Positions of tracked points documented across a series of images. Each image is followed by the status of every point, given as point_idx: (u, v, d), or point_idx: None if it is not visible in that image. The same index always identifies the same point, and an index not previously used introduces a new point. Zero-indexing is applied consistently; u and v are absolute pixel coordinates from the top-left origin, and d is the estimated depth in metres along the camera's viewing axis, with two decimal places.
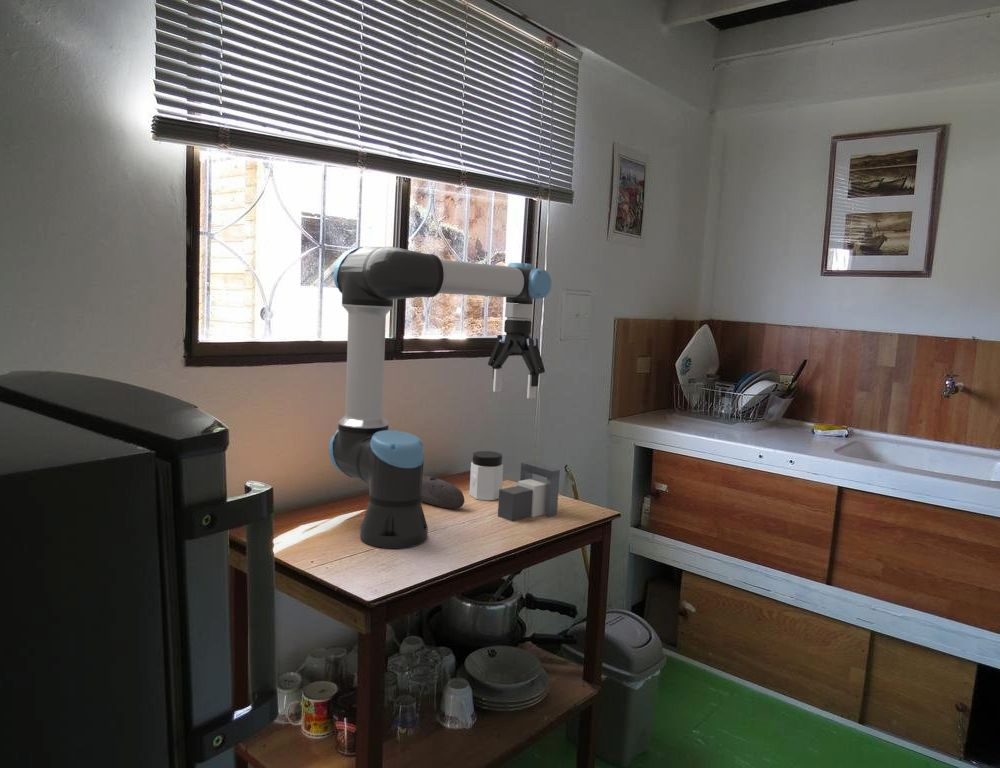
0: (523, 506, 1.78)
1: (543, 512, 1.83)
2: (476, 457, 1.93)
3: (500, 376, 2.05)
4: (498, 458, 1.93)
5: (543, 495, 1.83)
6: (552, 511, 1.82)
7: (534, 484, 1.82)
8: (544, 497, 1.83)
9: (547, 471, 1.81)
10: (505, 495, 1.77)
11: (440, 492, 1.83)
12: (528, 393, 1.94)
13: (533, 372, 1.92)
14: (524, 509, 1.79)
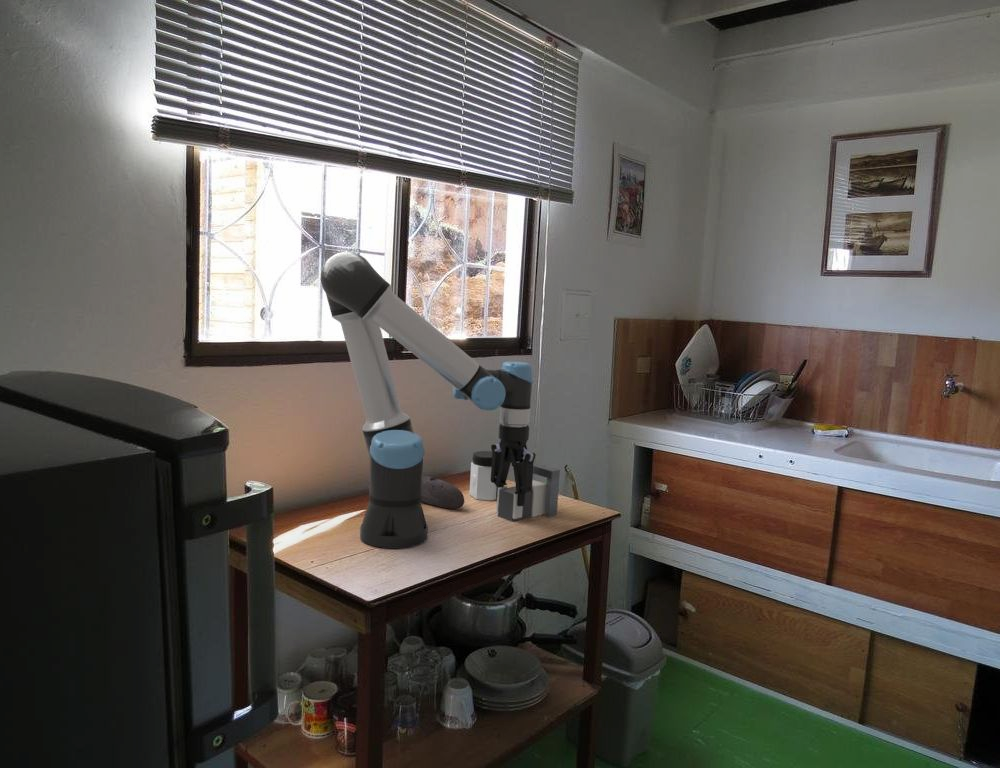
0: (523, 506, 1.78)
1: (543, 512, 1.83)
2: (476, 457, 1.93)
3: None
4: None
5: (543, 495, 1.83)
6: (552, 511, 1.82)
7: (534, 484, 1.82)
8: (544, 497, 1.83)
9: (547, 471, 1.81)
10: (505, 495, 1.77)
11: (440, 492, 1.83)
12: (514, 513, 1.76)
13: (519, 492, 1.74)
14: (524, 509, 1.79)
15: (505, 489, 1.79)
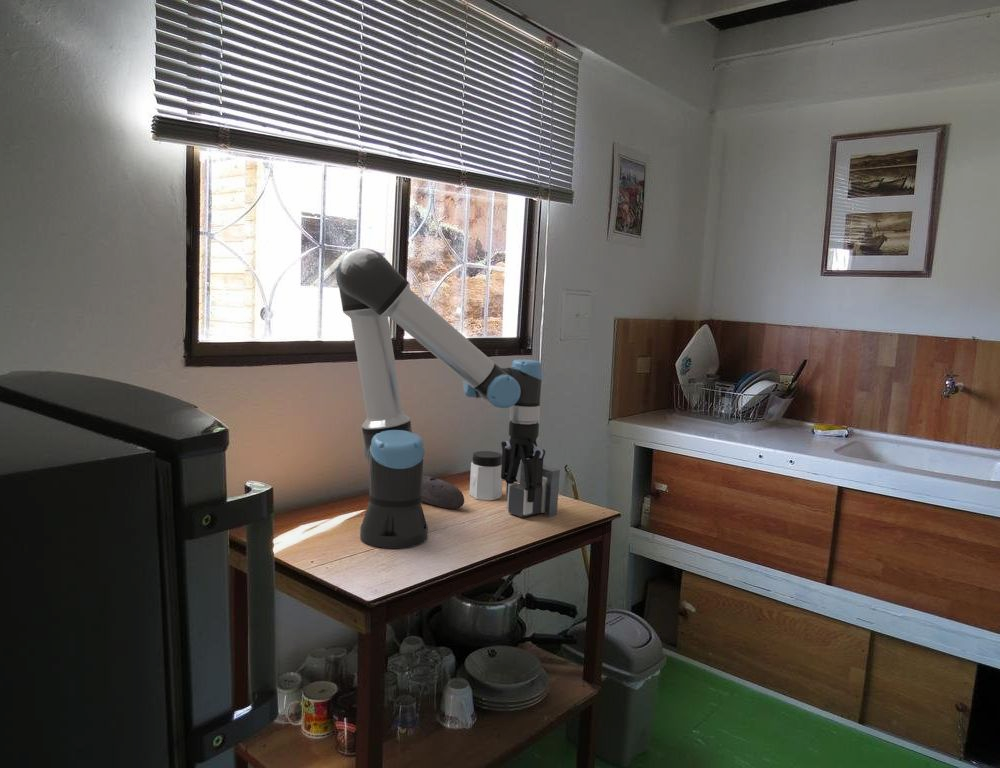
0: (533, 502, 1.81)
1: None
2: (476, 457, 1.93)
3: None
4: (498, 458, 1.93)
5: None
6: (552, 511, 1.82)
7: (544, 480, 1.84)
8: None
9: (547, 471, 1.81)
10: (515, 491, 1.79)
11: (440, 492, 1.83)
12: (524, 509, 1.78)
13: (529, 488, 1.76)
14: (534, 505, 1.81)
15: (515, 485, 1.81)
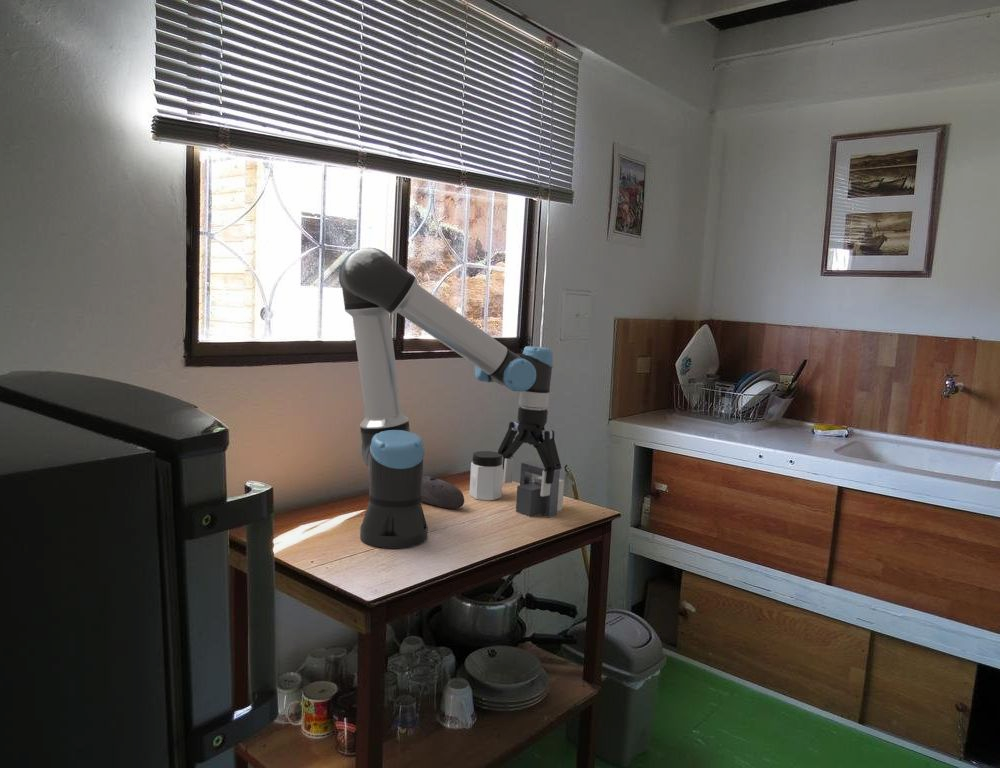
0: (540, 502, 1.83)
1: (560, 508, 1.88)
2: (476, 457, 1.93)
3: (511, 466, 1.87)
4: (498, 458, 1.93)
5: (560, 491, 1.87)
6: (552, 511, 1.82)
7: None
8: (561, 493, 1.87)
9: None
10: (523, 491, 1.82)
11: (440, 492, 1.83)
12: (542, 491, 1.76)
13: (548, 468, 1.75)
14: (541, 505, 1.83)
15: (523, 485, 1.84)
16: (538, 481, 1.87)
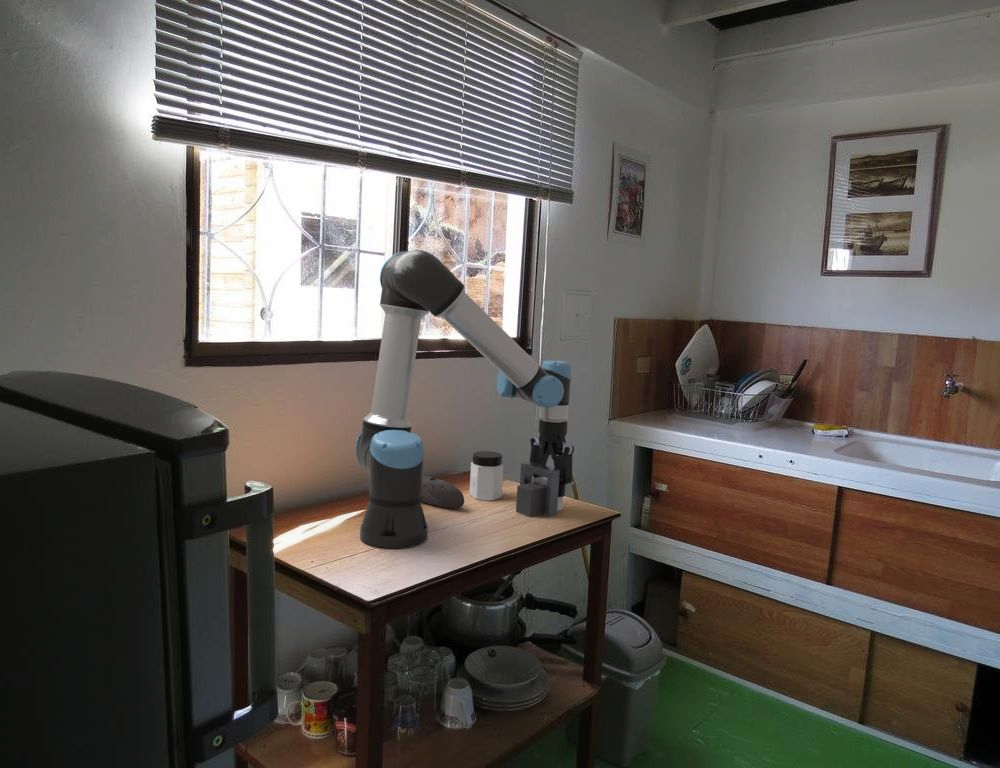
0: (540, 502, 1.83)
1: (560, 508, 1.88)
2: (476, 457, 1.93)
3: None
4: (498, 458, 1.93)
5: None
6: (552, 511, 1.82)
7: None
8: None
9: (547, 471, 1.81)
10: (523, 491, 1.82)
11: (440, 492, 1.83)
12: None
13: (560, 483, 1.84)
14: (542, 505, 1.83)
15: (523, 485, 1.84)
16: (538, 481, 1.87)
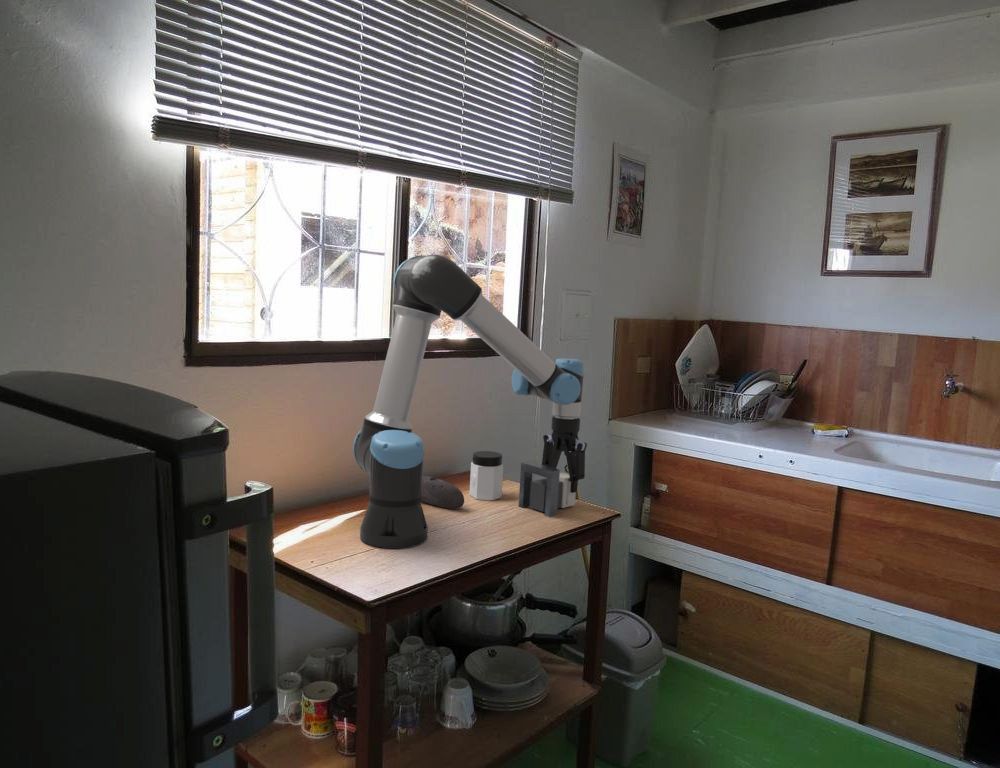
0: None
1: None
2: (476, 457, 1.93)
3: None
4: (498, 458, 1.93)
5: None
6: (552, 511, 1.82)
7: (564, 476, 1.89)
8: None
9: (547, 471, 1.81)
10: (537, 486, 1.85)
11: (440, 492, 1.83)
12: (567, 499, 1.89)
13: (572, 479, 1.87)
14: None
15: (536, 481, 1.87)
16: None
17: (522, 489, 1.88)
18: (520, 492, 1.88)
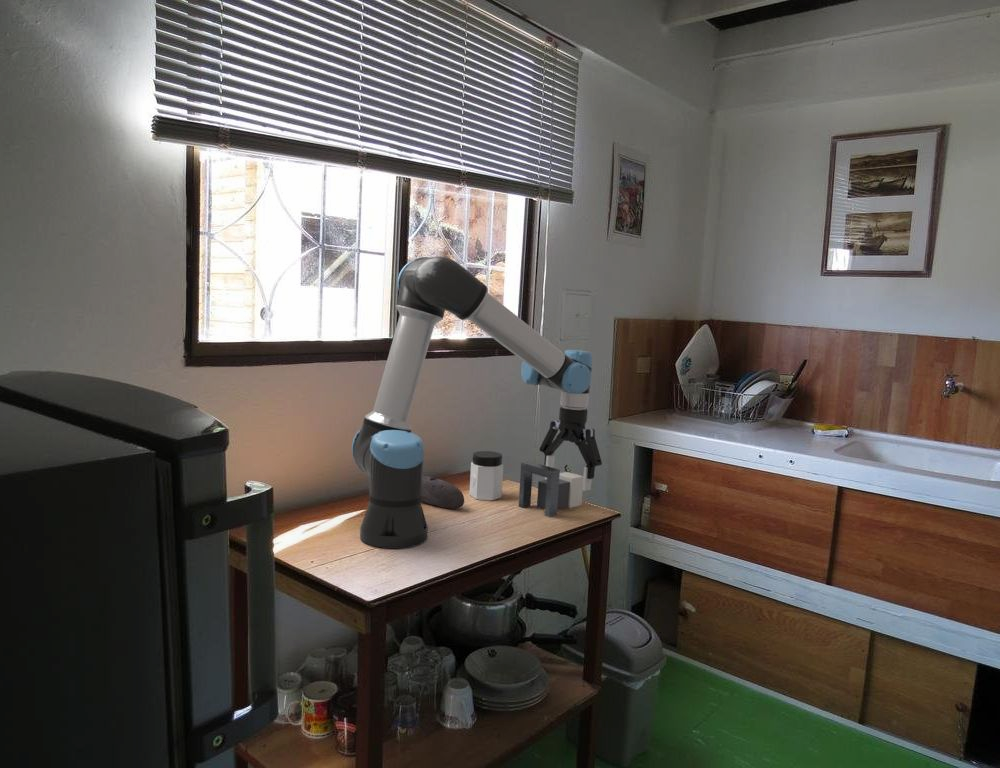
0: (561, 497, 1.88)
1: (579, 503, 1.93)
2: (476, 457, 1.93)
3: (552, 463, 1.98)
4: (498, 458, 1.93)
5: (579, 487, 1.92)
6: (552, 511, 1.82)
7: (571, 476, 1.92)
8: (580, 489, 1.93)
9: (547, 471, 1.81)
10: (544, 486, 1.87)
11: (440, 492, 1.83)
12: (584, 485, 1.88)
13: (590, 464, 1.86)
14: (562, 500, 1.89)
15: (544, 481, 1.89)
16: None
17: (522, 489, 1.88)
18: (520, 492, 1.88)
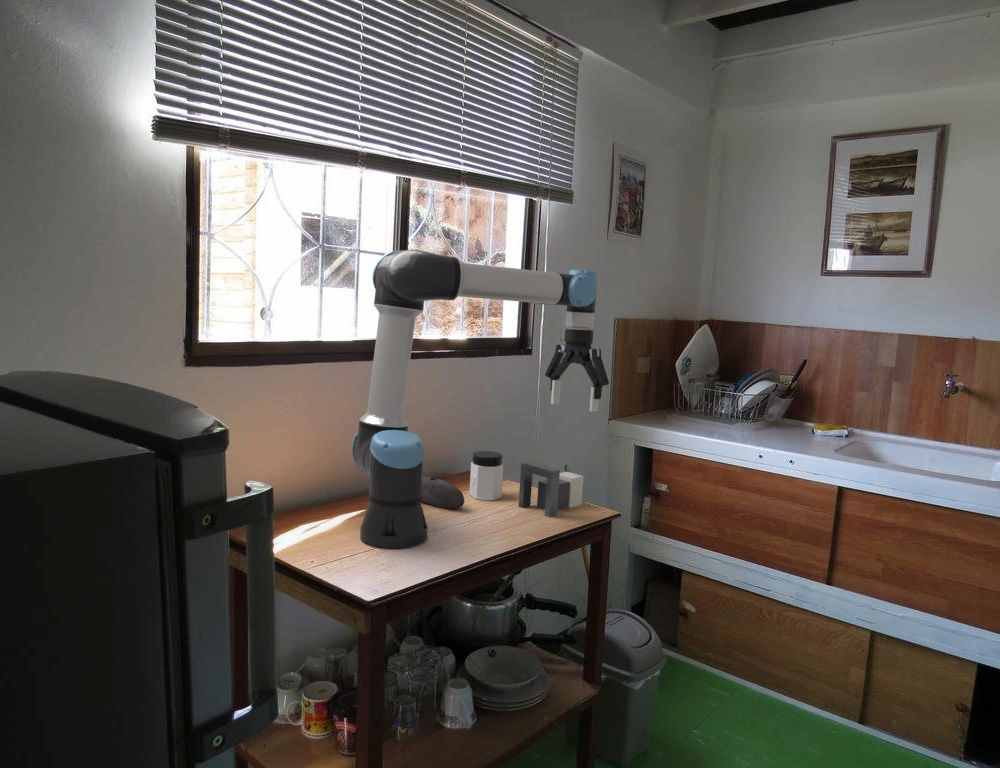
0: (561, 497, 1.88)
1: (579, 503, 1.93)
2: (476, 457, 1.93)
3: (558, 388, 1.96)
4: (498, 458, 1.93)
5: (579, 487, 1.92)
6: (552, 511, 1.82)
7: (571, 476, 1.92)
8: (580, 489, 1.93)
9: (547, 471, 1.81)
10: (544, 486, 1.87)
11: (440, 492, 1.83)
12: (591, 406, 1.85)
13: (597, 384, 1.84)
14: (562, 500, 1.89)
15: (544, 481, 1.89)
16: None
17: (522, 489, 1.88)
18: (520, 492, 1.88)
